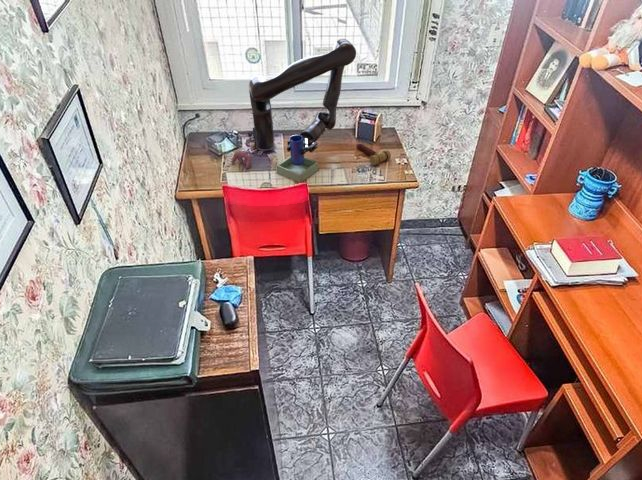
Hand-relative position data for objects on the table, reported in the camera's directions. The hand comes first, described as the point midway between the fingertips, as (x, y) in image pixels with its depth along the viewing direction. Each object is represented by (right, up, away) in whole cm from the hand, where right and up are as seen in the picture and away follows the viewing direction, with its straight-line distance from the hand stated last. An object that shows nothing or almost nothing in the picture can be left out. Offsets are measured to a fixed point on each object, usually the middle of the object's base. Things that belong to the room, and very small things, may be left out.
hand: (294, 151), depth 212 cm
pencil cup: (+1, -3, +6) cm, 7 cm away
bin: (0, -6, +10) cm, 12 cm away
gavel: (+35, +6, +22) cm, 42 cm away
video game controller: (-26, -2, +13) cm, 29 cm away
